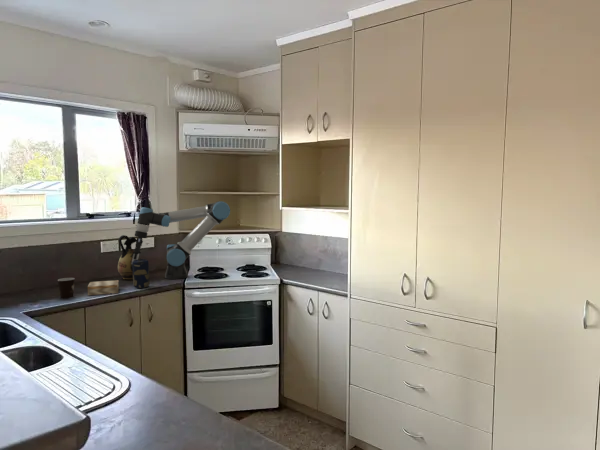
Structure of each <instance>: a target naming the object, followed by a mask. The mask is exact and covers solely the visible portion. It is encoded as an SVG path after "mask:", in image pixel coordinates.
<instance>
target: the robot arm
mask: <svg viewBox="0 0 600 450" xmlns="http://www.w3.org/2000/svg"><path fill="white" fill-rule="evenodd" d="M230 215H231V209H230V206H229V204H228V203H227V202H226V201H220V200H219V201H216V202H212V203H208V204H205V205H204V206H197V207H191V208H185V209H179V210H174V211H173V210H172V211H167V212H159V213H157V212H155V211H154V210H153V208H149V207H143V206H141V208H140V211H139V214H138V220H137V224H136V225H135V227H136V228H135V229H136V230H135V231H134V237H137V238H136V242H135V247H134V252H133V254H134V255H133V259H132V262H133V261H134V260H138V257H140V254H141V253H142V252H141V248H142V246H143V242H144V240H143V239H147V238H148V237H147V236H148V232H149V228H150V224H151V225H156V226H159V227H165V228H168V227H169V225H170V224H172V223H177V222H183V221H184V222H185V221H191V220H196V219H202V220H200V222H199V223H198V224H197V225H196V226H195V227H194V228H193V229H192V230H191V231H190V232H189V233H188V234H187V235H186V236H185V237H184V238H183V239H182V240H181V241H178V242H176V243H175V244H174V243H173V244H167V245H166V265H167V267H166V270H165V273H164V278H165V279H166V280H168V279H169V280H180V279H182V280H183V279H185V278H188V271H187V269H186V268H187V267H186V264H185V263H186V262H185V261H186V259H187V258H189V256H190V255H191V252H192V250H193V249H194V248H195V247H196V246H197V245H198V244H199V243H200V242H201V241H202V240H203V239H204V237H206V236H207V234H208V233H209V232H211V230H212V229H213V228H214V227H215V226H217V225H221V223H222V222H224V220H225V219H227V218H229V216H230ZM131 264H132V263H131Z"/></svg>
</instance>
